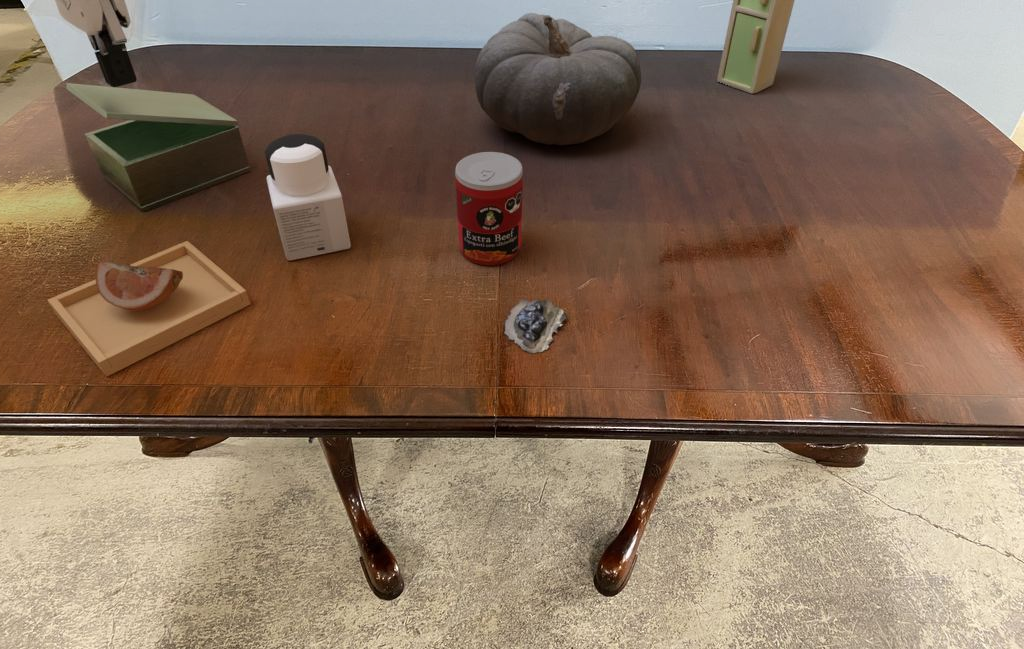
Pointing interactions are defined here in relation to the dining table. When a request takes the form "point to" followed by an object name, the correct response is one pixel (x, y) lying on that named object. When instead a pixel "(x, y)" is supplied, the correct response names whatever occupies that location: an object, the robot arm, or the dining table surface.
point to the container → (305, 197)
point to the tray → (150, 310)
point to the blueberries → (533, 324)
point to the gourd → (556, 80)
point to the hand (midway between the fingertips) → (122, 82)
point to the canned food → (489, 207)
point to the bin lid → (149, 105)
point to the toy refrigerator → (754, 43)
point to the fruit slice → (135, 285)
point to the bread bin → (166, 159)
